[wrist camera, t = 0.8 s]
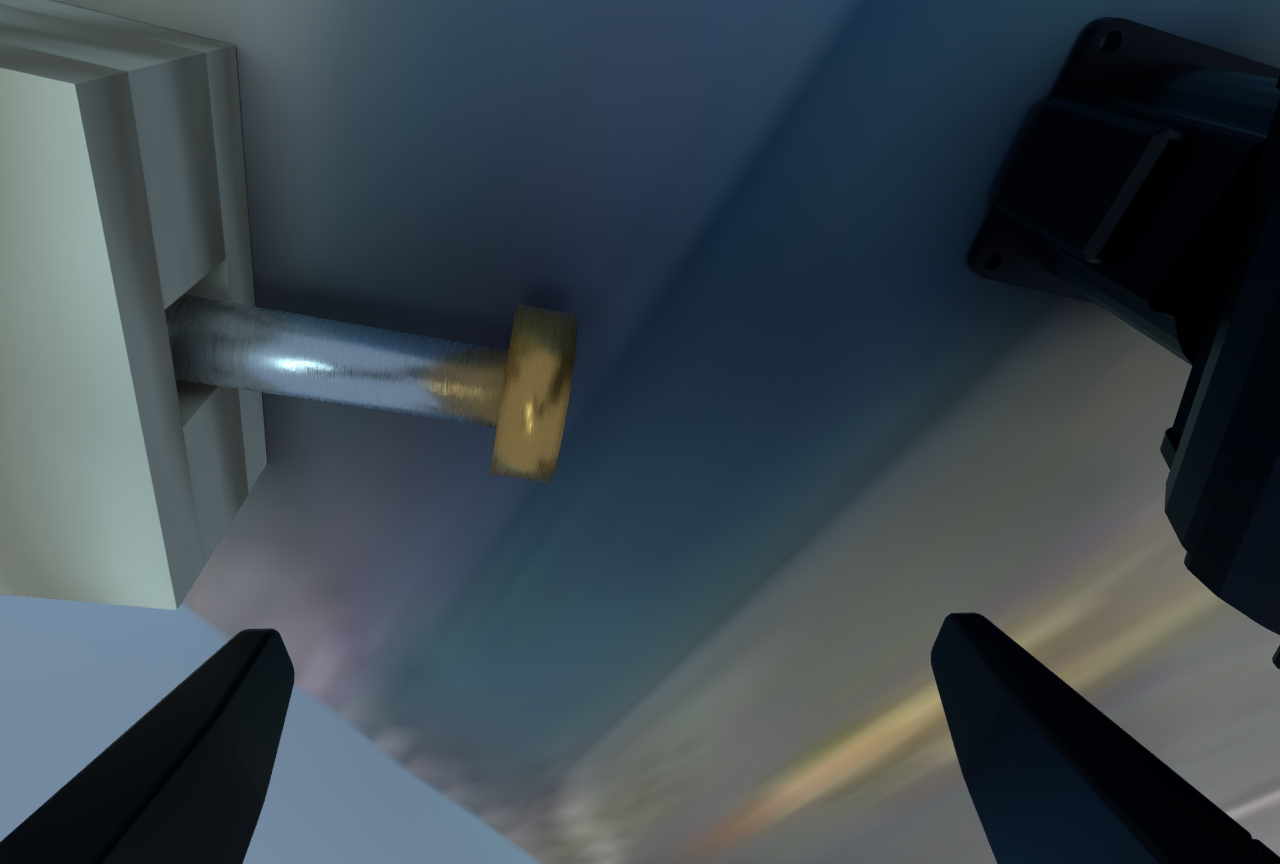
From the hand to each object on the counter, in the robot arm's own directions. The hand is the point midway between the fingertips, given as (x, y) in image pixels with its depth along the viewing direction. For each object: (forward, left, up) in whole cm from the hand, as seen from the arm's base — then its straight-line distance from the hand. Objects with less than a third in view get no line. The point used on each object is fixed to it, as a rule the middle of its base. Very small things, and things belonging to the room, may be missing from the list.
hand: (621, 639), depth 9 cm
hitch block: (+12, +2, -12) cm, 17 cm away
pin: (+6, +2, -11) cm, 13 cm away
